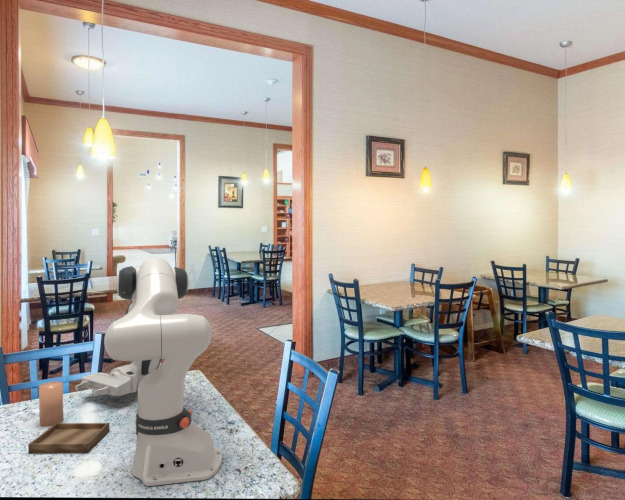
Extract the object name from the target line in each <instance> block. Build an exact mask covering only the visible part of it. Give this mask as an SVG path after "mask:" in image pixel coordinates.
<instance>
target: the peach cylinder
mask: <svg viewBox="0 0 625 500" xmlns="http://www.w3.org/2000/svg"><path fill="white" fill-rule="evenodd" d="M63 385H64V382H62V381H57V380H55V381H48V382H44V383H41V384H40V385H39V386H38V400H39V401H38V403H39V404H38V405H39V406H38V407H39V408H38V409H39V412H38V413H39V426H40V427H43V428H45V427H46V428H47V427H49V428H50V427H52V426H53V425H54V424H56V423H63V422H64V393H63V392H64V389H63V388H64V387H63Z"/></svg>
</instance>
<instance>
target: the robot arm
mask: <svg viewBox="0 0 625 500" xmlns="http://www.w3.org/2000/svg"><path fill="white" fill-rule="evenodd" d="M114 282H115V285H114V286H115V290H116V291H117V294H118V296H119V297H120V299H123V300H126V301H127V300H129V301H130V303H129V304H128V306H127V307H126V311H125V315H123V316H122V317H121V318H119V319H117V320H115V321H113V322H112V323H110V325H109V326H108V328H107V329H106V332H105V334H104V338H103V340H104V341H103V342H104V343H103V345H104V349H105V351H106V353H107V354H108V356H109V357H110V358H111V359H112V360H114V361H123V362H131V363H129V364H125V365H121V366H118V367H115V368H113V369H112V370H111V371H110V372H109V373H106V372H95V373H89V374H87V375H83V376H82V377H81V382H80V383H79V384H76V385H74V386H75V391H77V392H80V391H83V389H90V390H92V392H91V393H92V396H94V397H97V396H102V395H110V396H113V397H122V396H125V395H128V394H130V393H131V394H133V393H136V392H137V413H136V415H135V416H136V417H135V433H136V436H137V437H136V446H135V455H134V459H133V463H132V465H131V473H132V475H133V476H134V477H135V478H137V479H139V480H141V481H142V483H143V485H144V486H147V487H152V486H162V485H169V484H170V485H172V484H178V483H187V482H188V483H189V482H197V481H203V480H204V481H205V480H209V479H211V478H212V477H213V476H215V475H216V474H217V473H218V471H219V470H220V467H222V463H223V452H222V450H221V449H220V448H219V447H214V446H215V445H214V441H213V438H212V436H211V434H210V433H209V432H208V431H206V430H205V429H203V428H201V427H200V426H199V425H197V424H195V423H194V422H192V414H193V413H192V411H193V410H192V409H193V408H190V410H187V409H186V407H184V393H185V392H184V391H185V390H184V389H185V381H186V377H187V374H188V371H189V370H190V368H191V366H192V365H193V363H194V362H195V361H196V359H197V358H198V357H199V356H200V355H201V354H203V353H204V352H205V351H206V350H207V348H208V347H209V346H210V344H211V341H212V336H213V331H212V327H211V324H210V322H209V320H208V319H207V318H206V317H205V316H204V315H200V314H192V313H175V312H176V310H177V309H178V307H179V300H180V299H183V298H184V297H186V295H187V294H188V291H189V287H190V278H189V276H188V273H187V270H185V269H184V268H181V267H176V266H174V267H172V266H171V264H170V263H169V262H168V261H167V260H166V259H164V258H162V257H161V258H160V257H150V258H148V259H147V260H145V261H144V262H142V263H141V265H140V266H133V265H131V266H130V265H129V266H125V267H122V269H120V270H119V271H118V274H117V275H116V278H115V281H114ZM161 360H163V361H162V362H161Z"/></svg>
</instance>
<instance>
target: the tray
mask: <svg viewBox="0 0 625 500" xmlns="http://www.w3.org/2000/svg"><path fill="white" fill-rule="evenodd" d="M109 432H110V423H109V422H77V423H76V422H74V423H73V422H71V423H69V422H68V423H66V422H64V423H63V422H61V423H56V424H54V425H53V426H49V428H48V429H47V430H45V431H44V432H42V433H41V434H39V436H37V437H36V438H35V439H33V440H32V441H30V443H28V446H27V447H28V450H27V451H28V454H89V453H90V452H91V451H92V449H93V448H94V447H96V446H97V444H98V443H99V442H101V441H102V440H103V438H105V437H106V436H107V435H108V434H109Z"/></svg>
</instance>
